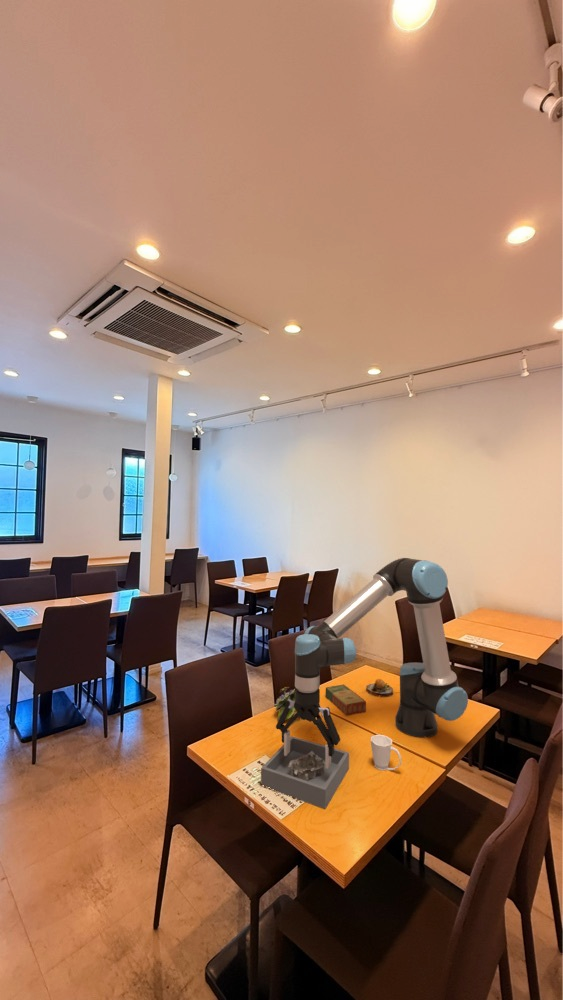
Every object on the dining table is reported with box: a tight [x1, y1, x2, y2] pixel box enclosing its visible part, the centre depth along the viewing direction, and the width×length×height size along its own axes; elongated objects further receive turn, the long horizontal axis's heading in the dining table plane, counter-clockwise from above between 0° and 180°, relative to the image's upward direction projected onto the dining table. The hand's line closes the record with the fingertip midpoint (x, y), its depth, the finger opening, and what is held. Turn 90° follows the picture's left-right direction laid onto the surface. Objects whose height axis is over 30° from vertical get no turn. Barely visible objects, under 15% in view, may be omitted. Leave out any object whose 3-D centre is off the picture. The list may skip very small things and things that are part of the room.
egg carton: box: [289, 751, 325, 781], centre depth 123 cm, size 10×7×4 cm
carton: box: [325, 684, 367, 717], centre depth 172 cm, size 10×18×5 cm, turn 21°
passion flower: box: [273, 686, 301, 722], centre depth 161 cm, size 13×12×14 cm
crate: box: [260, 735, 350, 810], centre depth 123 cm, size 20×20×5 cm
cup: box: [370, 734, 402, 772], centre depth 128 cm, size 7×10×8 cm
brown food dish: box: [365, 678, 394, 698], centre depth 185 cm, size 12×12×8 cm
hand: (307, 759), depth 123 cm, fingers open, 13 cm apart
